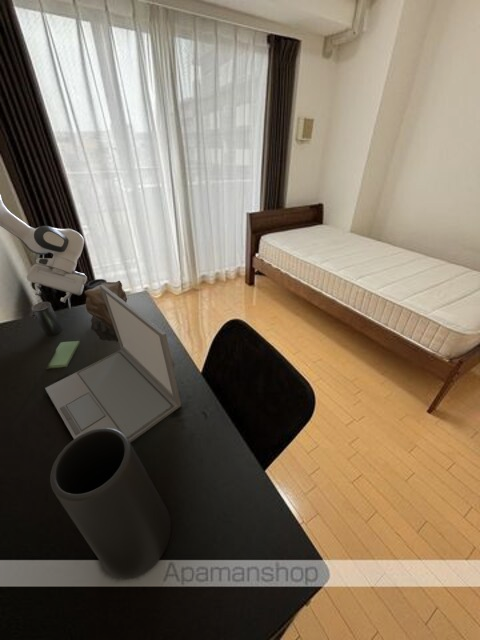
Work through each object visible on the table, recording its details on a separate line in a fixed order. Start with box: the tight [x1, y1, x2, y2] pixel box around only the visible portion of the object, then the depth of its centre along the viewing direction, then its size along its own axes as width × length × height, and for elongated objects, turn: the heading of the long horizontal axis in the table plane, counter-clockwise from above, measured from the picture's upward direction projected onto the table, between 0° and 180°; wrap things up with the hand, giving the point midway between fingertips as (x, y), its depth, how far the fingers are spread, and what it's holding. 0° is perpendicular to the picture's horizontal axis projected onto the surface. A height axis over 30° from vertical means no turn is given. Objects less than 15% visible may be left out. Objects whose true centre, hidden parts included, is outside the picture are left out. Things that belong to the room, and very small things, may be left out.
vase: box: [49, 428, 172, 580], centre depth 49 cm, size 14×14×29 cm
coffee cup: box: [86, 278, 108, 290], centre depth 118 cm, size 8×8×15 cm
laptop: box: [44, 285, 182, 444], centre depth 77 cm, size 35×26×27 cm
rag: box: [45, 340, 81, 370], centre depth 101 cm, size 7×13×1 cm, turn 6°
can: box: [31, 301, 63, 337], centre depth 109 cm, size 6×6×12 cm
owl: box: [83, 280, 128, 342], centre depth 106 cm, size 13×13×20 cm
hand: (49, 298), depth 115 cm, fingers open, 8 cm apart
